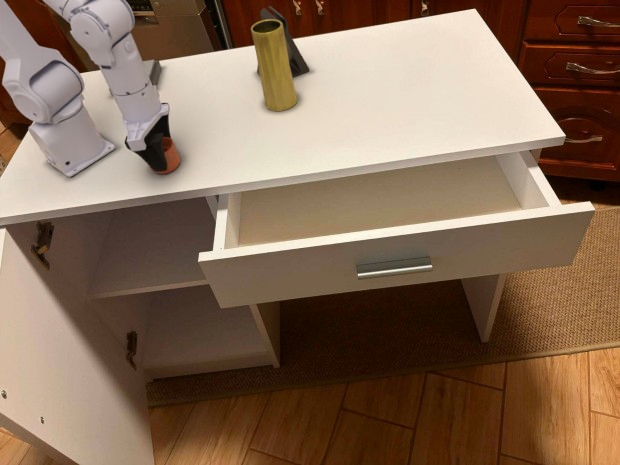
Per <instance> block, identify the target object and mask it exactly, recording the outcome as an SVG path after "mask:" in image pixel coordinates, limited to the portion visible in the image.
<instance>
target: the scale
mask: <svg viewBox="0 0 620 465" xmlns="http://www.w3.org/2000/svg"><path fill="white" fill-rule="evenodd" d="M142 61H143V63H144V66H145V68H146V71H147V73H148V76H149V78H150V81H151V83H152V86H154V85H156V87H157V86H158V82H159V79H160V76H161V72H162V70H163V69H162V65H161V63H160V61H159V60H155V59H148V60H142ZM108 90H109V93H110V95H111V96H112V97H113V95H112V93H111V91H110V89H109V88H108Z"/></svg>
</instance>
